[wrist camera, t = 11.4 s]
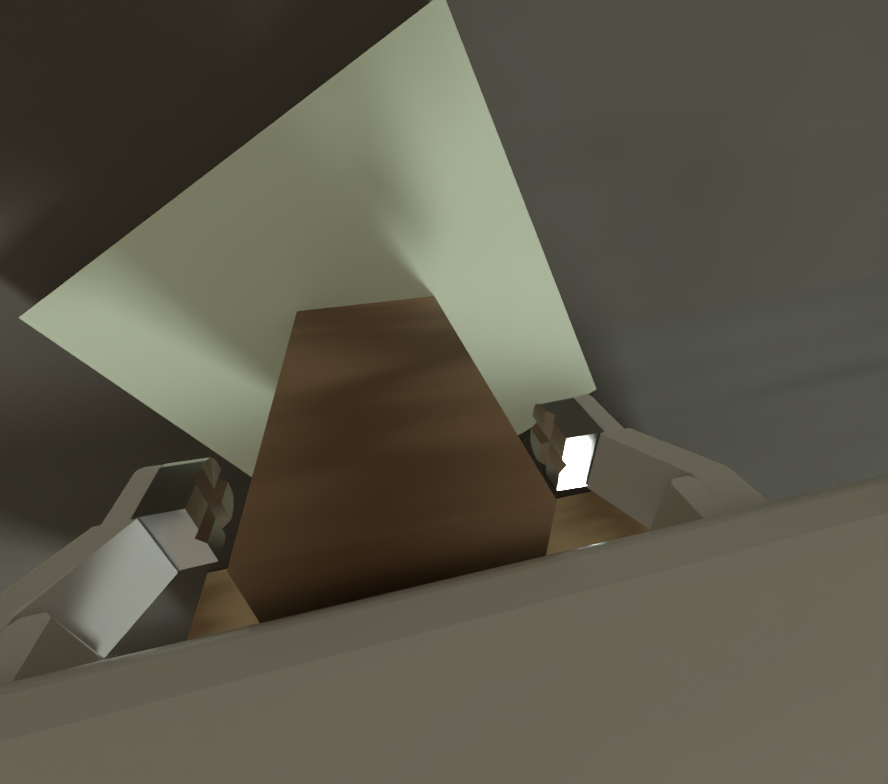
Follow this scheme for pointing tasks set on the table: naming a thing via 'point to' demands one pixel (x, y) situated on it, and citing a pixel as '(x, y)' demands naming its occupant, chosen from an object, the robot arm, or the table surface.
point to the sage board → (329, 250)
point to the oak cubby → (571, 528)
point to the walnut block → (382, 466)
